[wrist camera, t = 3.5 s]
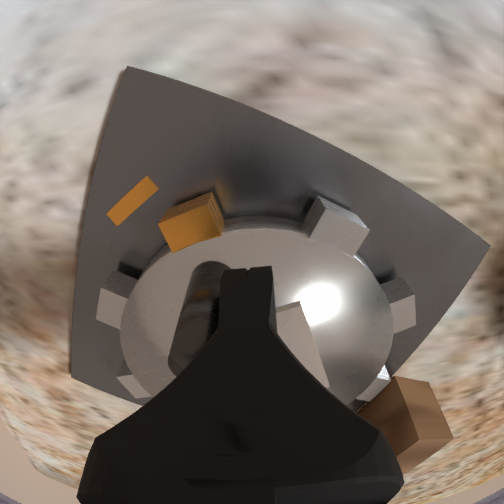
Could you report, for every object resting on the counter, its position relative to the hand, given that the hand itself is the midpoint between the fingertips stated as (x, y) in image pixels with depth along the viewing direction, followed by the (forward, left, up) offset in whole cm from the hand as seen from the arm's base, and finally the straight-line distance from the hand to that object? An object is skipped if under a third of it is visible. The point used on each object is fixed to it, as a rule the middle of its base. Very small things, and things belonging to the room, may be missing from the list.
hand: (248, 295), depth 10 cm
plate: (-4, -2, -4) cm, 6 cm away
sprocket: (-4, -2, -4) cm, 6 cm away
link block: (-7, -14, -4) cm, 16 cm away
